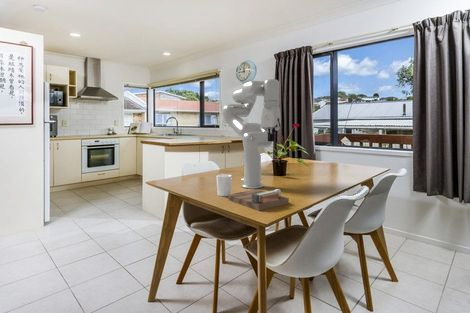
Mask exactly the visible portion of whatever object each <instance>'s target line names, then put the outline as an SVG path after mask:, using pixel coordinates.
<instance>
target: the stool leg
mask: <svg viewBox="0 0 470 313" xmlns="http://www.w3.org/2000/svg"><path fill="white" fill-rule="evenodd" d="M281 191H282V190H281V188H277V189H276V188H275V189H273V190H269V191H268V190H267V191H264V192H263V193H259V194H252V202H255V203H258V202H261V196H262V195H267V194H272V193H279V197H280V196H282V195H281Z"/></svg>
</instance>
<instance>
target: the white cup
mask: <svg viewBox="0 0 470 313" xmlns="http://www.w3.org/2000/svg"><path fill="white" fill-rule="evenodd" d="M215 177H216V190H217V196H219V197H228V195H229V194H232V185H233V184H232V183H233V182H232V180H233V178H232V177H233V175H232V174H226V173H222V174H217V175H216V176H215Z"/></svg>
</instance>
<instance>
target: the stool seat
mask: <svg viewBox="0 0 470 313" xmlns="http://www.w3.org/2000/svg"><path fill="white" fill-rule="evenodd" d="M263 192H265V191H264V190H260V189H258V188H256V189H250V190H246V191H241V192H235V193H231V194H229V195H228V196H227V200H228V201H230V202H233V203H235V204H239V205H242V206H245V207H247V208H250V209H253V210H254V211H255V210H256V211H262V210H268V209H271V208H276V207H280V206H285V205H288V204H290V203H289V201H290V200H289V199H290V198H289V197H286V196H283V195H280V197H279V193H272V194H267V195H262V196H261V202H258V203H255V202H252V194H259V193H263Z"/></svg>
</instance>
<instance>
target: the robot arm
mask: <svg viewBox="0 0 470 313" xmlns="http://www.w3.org/2000/svg"><path fill="white" fill-rule="evenodd" d="M257 96H258V97H263V107H262V110H261V118H260V120H261V122H260V123H258V122H246V121H245V120H244V119H243V118H247V117H248V116H249V115H250V114H251V112H252V109H253V108H254V105H255V103H256V101H257ZM232 100H233V101H234V102H235V103H229V104H226V105H224V106H223V108H222V117H223V119H224V121H225V123H226V124H227V125H228V126H229V127H230V128H231V129H232V130H234V132H235V133H236V135H237V136H238V137H239V138H241V139H242V144H243V145H242V146H243V159H244V161H243V165H244V166H243V169H244V170H243V172H244V173H243V175H244V177H243V178H240V179H241V181H242V183H241V187H242V188H243V189H250V190H256V189H261V188H263V187H264V184H263V183H262V182H261V181H262V179H261V178H262V155H261V153H260V151H259V150H258V149H266V148H270V147H271V146H272V144H273V142H275V134H276V132H277V131H279V130H280V127H281V125H282V124H281V120H282V119H281V117H282V116H281V108H280V81H279V80H278V79H274V78H273V79H265V81H262V80H250V81H248V82H245V83H243V86H242V87H240V88H237V89H236V90H234V91H233V93H232Z"/></svg>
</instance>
